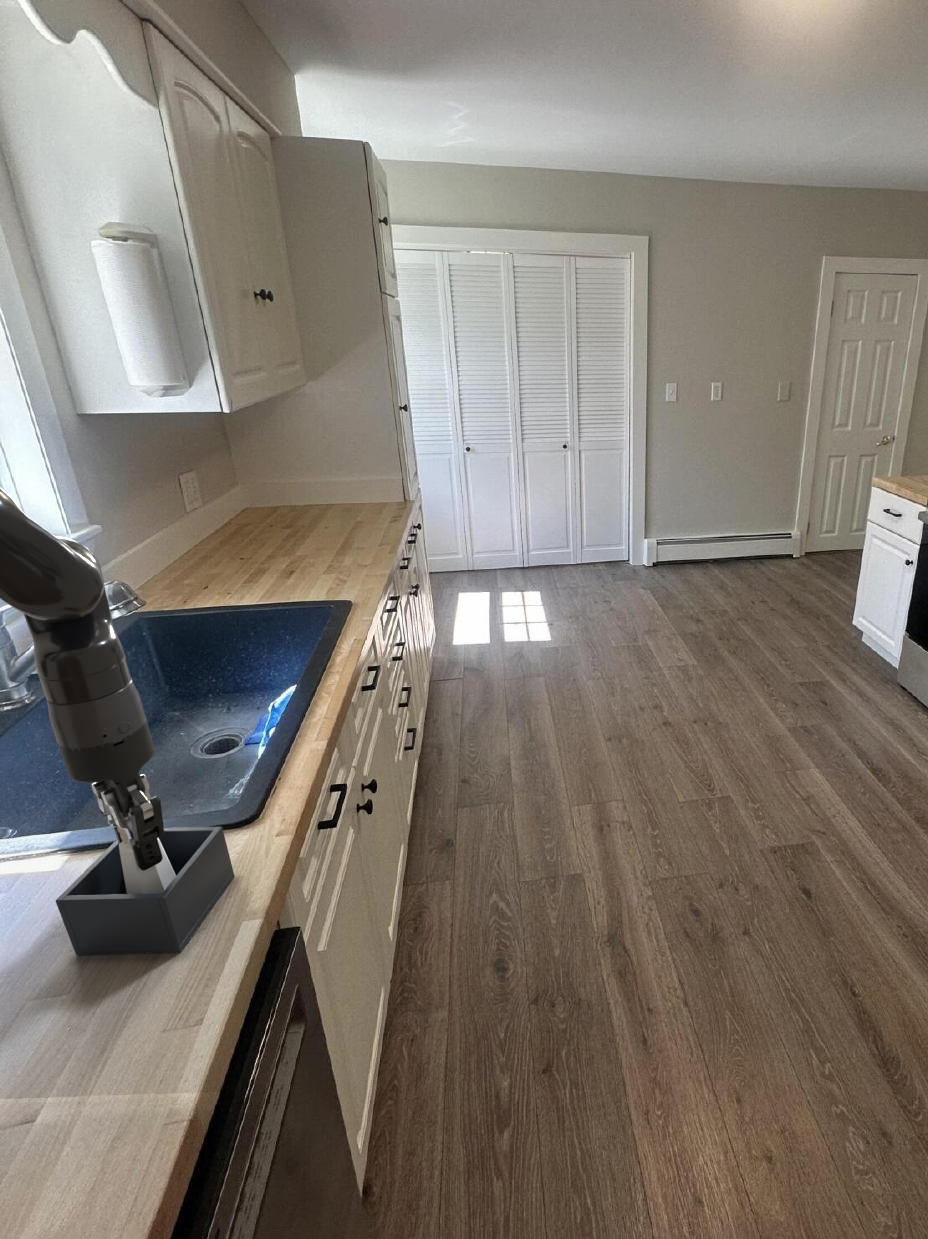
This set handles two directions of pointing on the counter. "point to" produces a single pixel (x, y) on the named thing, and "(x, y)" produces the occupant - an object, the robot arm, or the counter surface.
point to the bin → (148, 898)
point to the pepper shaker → (148, 879)
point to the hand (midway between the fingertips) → (142, 856)
